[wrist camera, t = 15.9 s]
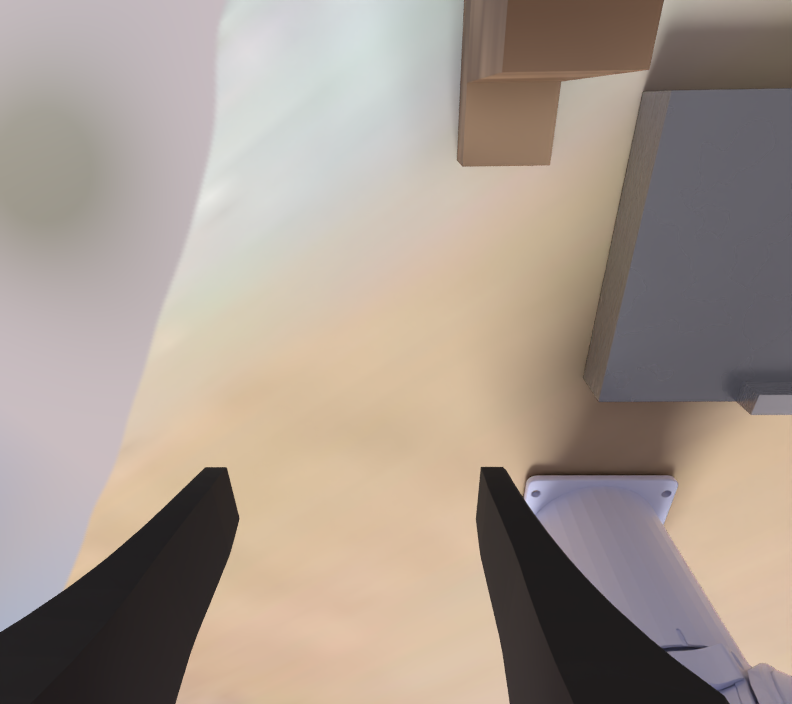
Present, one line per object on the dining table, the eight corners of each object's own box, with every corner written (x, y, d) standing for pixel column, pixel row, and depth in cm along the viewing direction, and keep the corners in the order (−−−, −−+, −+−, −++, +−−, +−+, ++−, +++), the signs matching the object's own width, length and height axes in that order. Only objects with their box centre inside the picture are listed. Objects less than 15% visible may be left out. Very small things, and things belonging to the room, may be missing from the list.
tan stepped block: (535, 158, 18) (622, 196, 11) (456, 160, 18) (492, 198, 11) (569, -128, 14) (741, -366, 7) (469, -126, 14) (536, -359, 7)
